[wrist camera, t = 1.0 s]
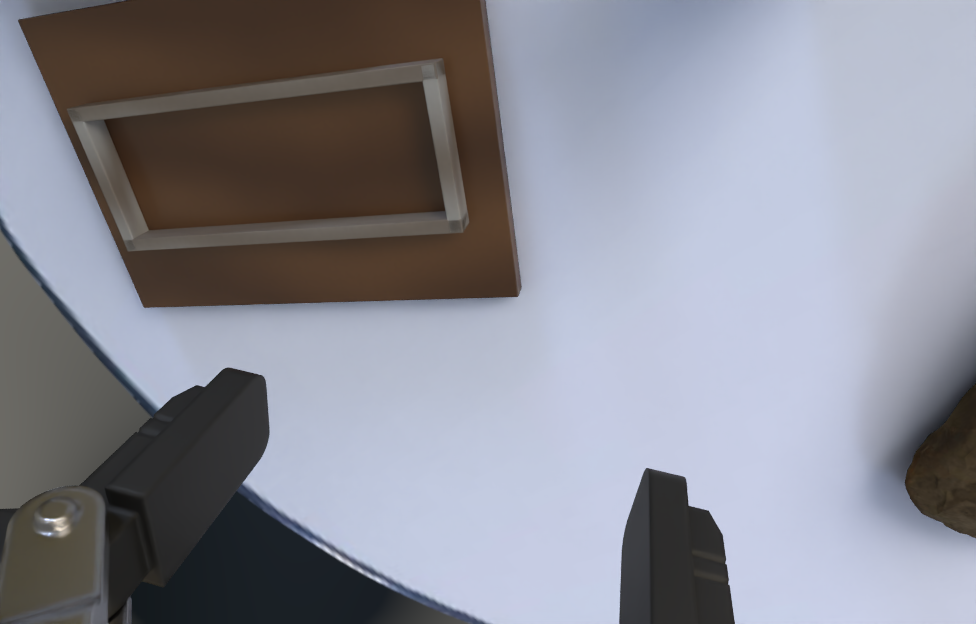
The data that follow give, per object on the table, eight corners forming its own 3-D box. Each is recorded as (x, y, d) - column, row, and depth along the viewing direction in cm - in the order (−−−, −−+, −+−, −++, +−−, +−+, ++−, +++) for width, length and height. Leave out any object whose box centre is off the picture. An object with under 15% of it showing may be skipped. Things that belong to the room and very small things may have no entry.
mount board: (34, 18, 36) (-8, 21, 34) (478, -59, 29) (464, -61, 27) (155, 300, 44) (128, 318, 42) (522, 287, 38) (514, 309, 35)
